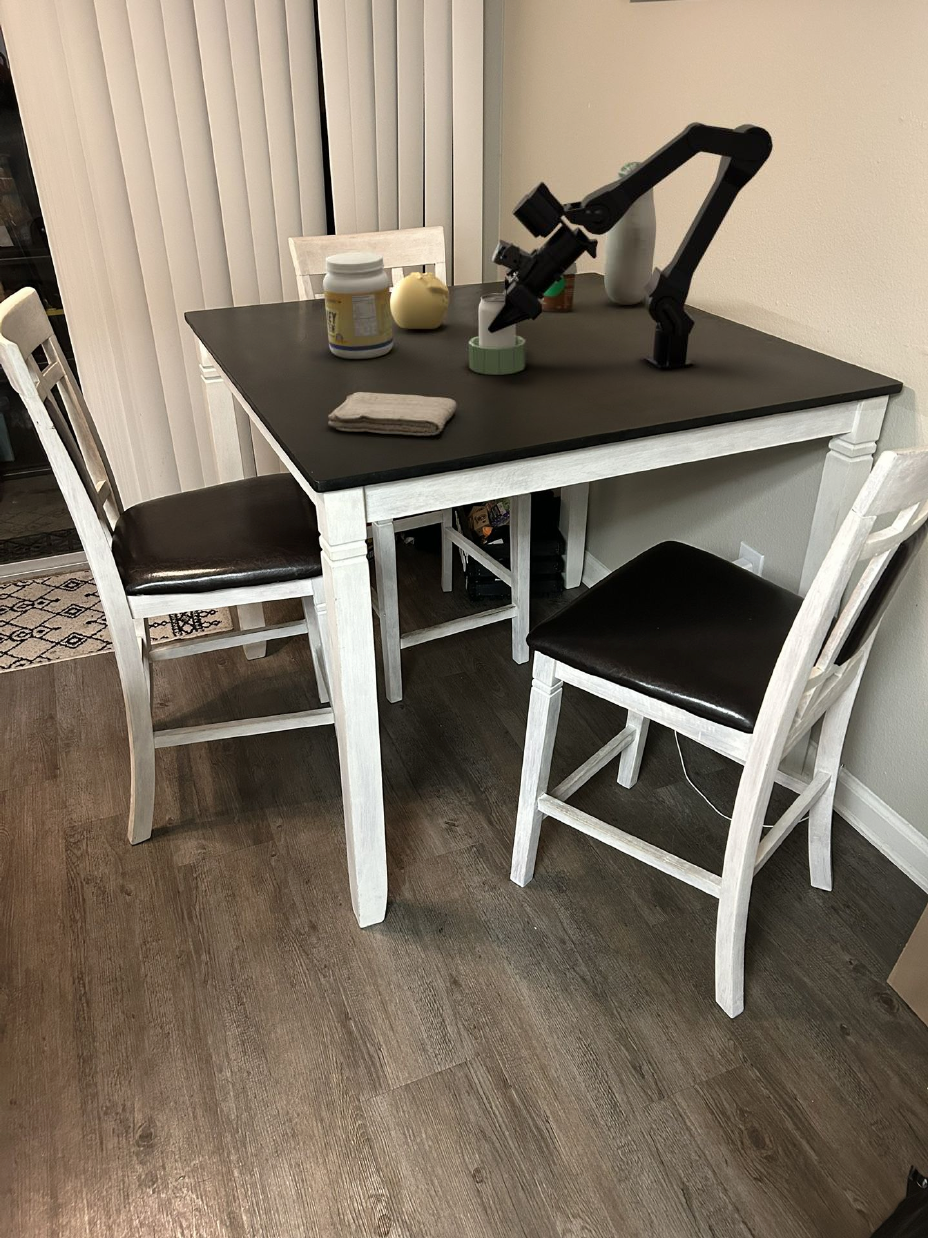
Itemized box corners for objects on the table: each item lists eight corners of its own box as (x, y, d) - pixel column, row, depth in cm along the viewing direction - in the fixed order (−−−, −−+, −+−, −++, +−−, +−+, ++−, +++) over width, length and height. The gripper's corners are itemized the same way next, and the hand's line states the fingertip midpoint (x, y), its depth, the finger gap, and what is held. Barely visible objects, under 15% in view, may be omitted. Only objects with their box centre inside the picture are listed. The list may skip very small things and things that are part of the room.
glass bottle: (595, 301, 204) (602, 160, 189) (637, 296, 206) (647, 158, 191) (614, 311, 196) (623, 165, 181) (657, 306, 198) (670, 162, 183)
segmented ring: (532, 370, 161) (533, 345, 159) (479, 377, 159) (479, 351, 157) (514, 356, 169) (514, 331, 167) (463, 361, 167) (462, 336, 165)
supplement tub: (323, 347, 177) (313, 254, 168) (383, 339, 181) (376, 248, 172) (338, 363, 168) (329, 266, 159) (401, 355, 171) (396, 259, 162)
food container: (522, 303, 203) (523, 256, 198) (547, 300, 205) (548, 253, 200) (550, 315, 194) (551, 266, 188) (575, 312, 196) (577, 262, 190)
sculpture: (458, 330, 186) (456, 274, 180) (402, 337, 182) (398, 280, 176) (438, 317, 195) (436, 264, 189) (384, 324, 191) (381, 269, 185)
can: (516, 360, 166) (516, 292, 160) (514, 371, 161) (514, 301, 155) (480, 360, 167) (479, 292, 161) (477, 371, 162) (476, 301, 155)
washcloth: (351, 406, 148) (349, 387, 146) (459, 411, 144) (458, 392, 142) (325, 432, 138) (323, 412, 136) (441, 439, 134) (440, 418, 133)
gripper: (518, 213, 159) (457, 281, 165) (522, 232, 143) (454, 306, 150) (562, 260, 163) (501, 324, 169) (570, 283, 147) (502, 353, 154)
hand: (489, 326), depth 160 cm, fingers closed on can, 6 cm apart
